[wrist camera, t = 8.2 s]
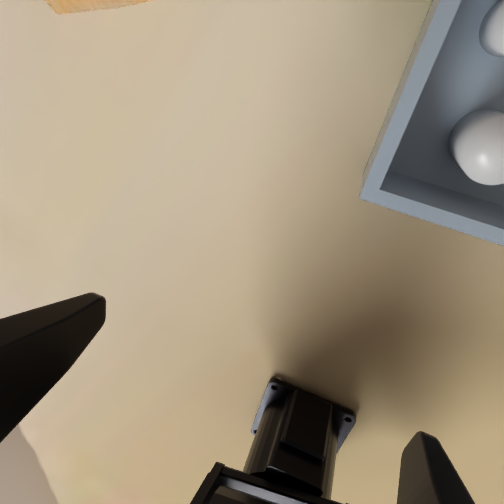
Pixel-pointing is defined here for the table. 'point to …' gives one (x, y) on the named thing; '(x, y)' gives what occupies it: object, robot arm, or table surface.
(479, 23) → the tub
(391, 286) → the table surface
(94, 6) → the sandwich container
